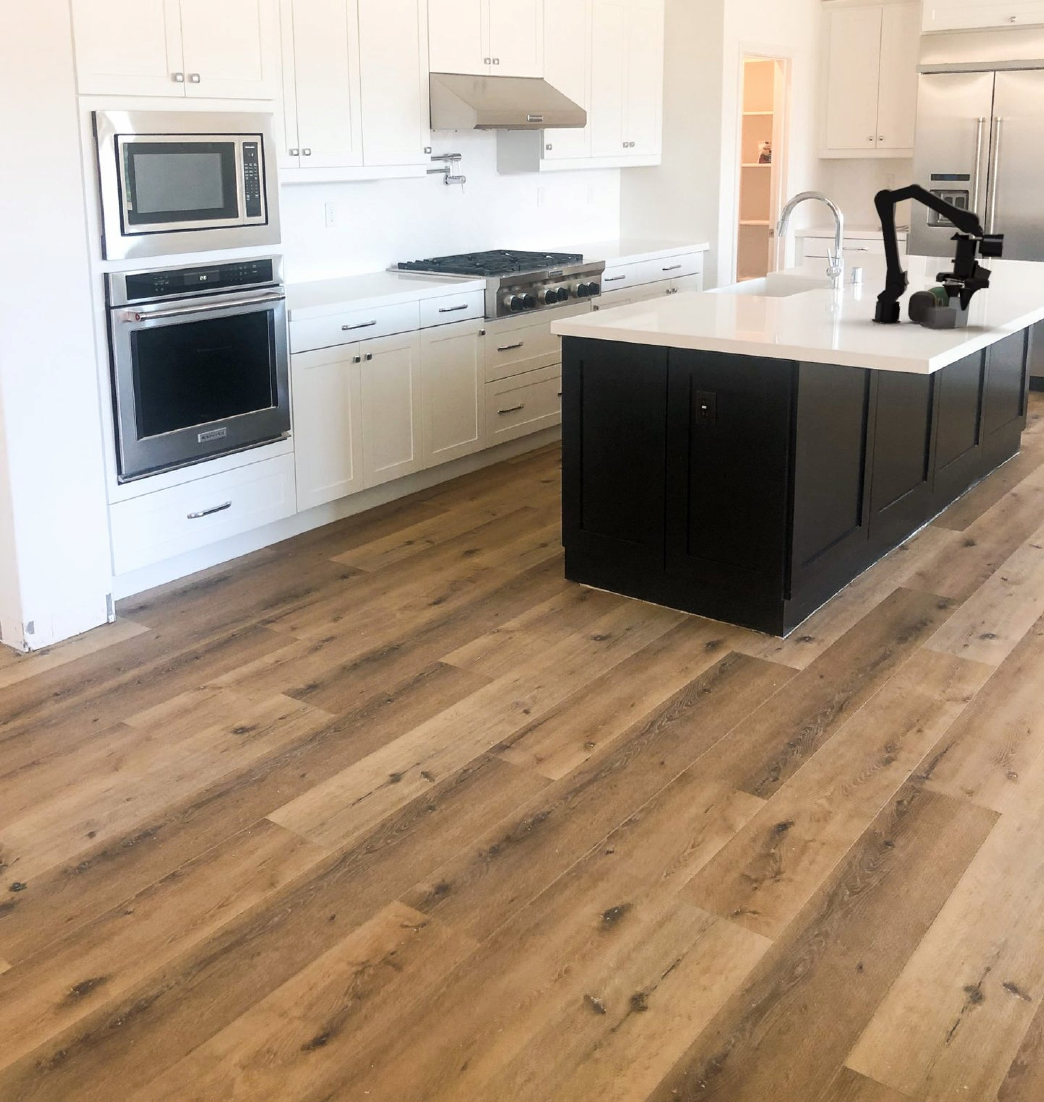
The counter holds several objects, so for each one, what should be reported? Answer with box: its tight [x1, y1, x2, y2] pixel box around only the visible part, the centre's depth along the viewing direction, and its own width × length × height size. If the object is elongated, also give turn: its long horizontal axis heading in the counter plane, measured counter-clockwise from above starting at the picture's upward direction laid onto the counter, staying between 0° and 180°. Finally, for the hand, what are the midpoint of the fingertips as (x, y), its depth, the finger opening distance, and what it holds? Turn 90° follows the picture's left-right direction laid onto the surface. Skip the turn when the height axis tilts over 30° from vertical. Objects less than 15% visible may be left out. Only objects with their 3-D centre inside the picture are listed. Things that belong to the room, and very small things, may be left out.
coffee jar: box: [907, 286, 949, 323], centre depth 374 cm, size 10×8×19 cm
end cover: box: [948, 296, 971, 328], centre depth 362 cm, size 11×6×8 cm, turn 106°
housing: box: [920, 306, 957, 330], centre depth 361 cm, size 7×7×6 cm
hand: (958, 309), depth 362 cm, fingers closed on end cover, 4 cm apart
